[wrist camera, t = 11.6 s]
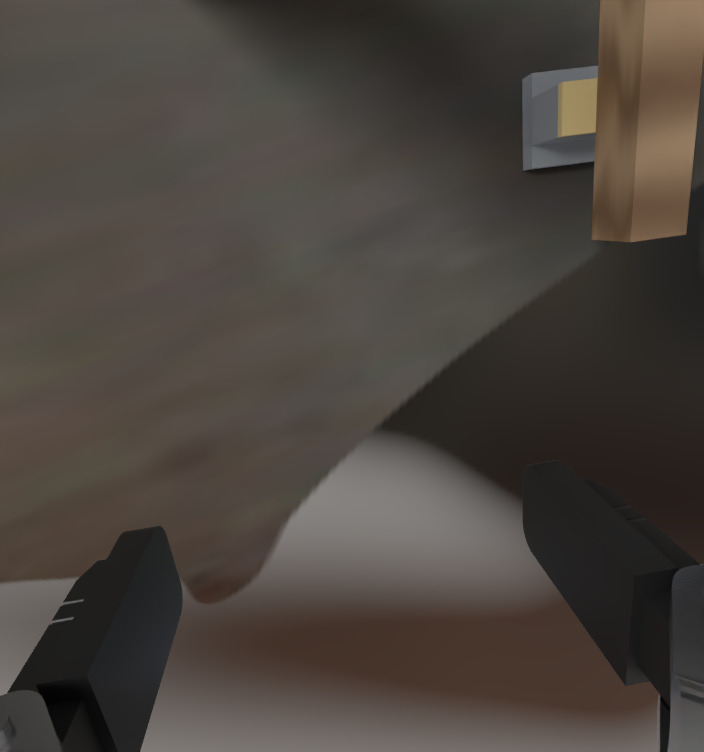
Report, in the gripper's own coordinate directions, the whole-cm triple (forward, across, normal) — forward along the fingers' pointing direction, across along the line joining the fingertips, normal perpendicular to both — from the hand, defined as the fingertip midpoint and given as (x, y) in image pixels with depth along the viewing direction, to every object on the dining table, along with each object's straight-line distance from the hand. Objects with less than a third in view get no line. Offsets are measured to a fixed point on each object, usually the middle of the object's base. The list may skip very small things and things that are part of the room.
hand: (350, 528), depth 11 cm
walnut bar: (+23, -21, -11) cm, 33 cm away
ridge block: (+28, -21, -11) cm, 37 cm away
